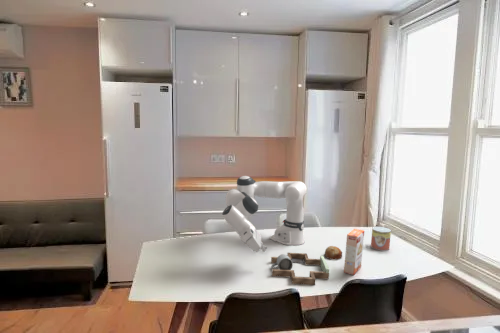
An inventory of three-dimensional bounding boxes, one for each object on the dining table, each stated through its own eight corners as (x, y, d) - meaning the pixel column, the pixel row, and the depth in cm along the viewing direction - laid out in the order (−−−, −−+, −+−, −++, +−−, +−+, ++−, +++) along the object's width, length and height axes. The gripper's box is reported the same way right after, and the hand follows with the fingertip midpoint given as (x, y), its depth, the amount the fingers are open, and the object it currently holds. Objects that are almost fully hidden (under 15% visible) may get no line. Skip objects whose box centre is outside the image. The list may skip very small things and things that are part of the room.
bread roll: (324, 259, 214) (320, 247, 213) (340, 252, 214) (335, 240, 213) (330, 265, 204) (324, 253, 203) (346, 258, 204) (341, 246, 203)
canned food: (370, 248, 224) (371, 230, 222) (371, 243, 234) (372, 225, 233) (389, 251, 220) (391, 233, 218) (389, 246, 230) (391, 228, 229)
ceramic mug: (289, 265, 193) (289, 252, 192) (292, 272, 184) (293, 258, 183) (269, 266, 191) (270, 252, 190) (272, 272, 183) (272, 258, 182)
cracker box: (354, 275, 183) (357, 236, 180) (343, 272, 186) (346, 234, 184) (362, 266, 195) (365, 230, 192) (351, 264, 198) (353, 227, 195)
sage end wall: (325, 278, 178) (326, 269, 178) (319, 264, 196) (320, 255, 196) (328, 278, 178) (329, 269, 178) (322, 264, 196) (323, 255, 195)
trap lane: (272, 282, 172) (272, 276, 171) (270, 256, 204) (271, 251, 204) (331, 285, 171) (332, 279, 170) (320, 259, 204) (320, 254, 203)
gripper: (243, 229, 196) (260, 247, 197) (241, 241, 176) (260, 261, 177) (252, 221, 195) (269, 239, 196) (251, 233, 175) (269, 253, 176)
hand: (265, 250), depth 186 cm, fingers closed
